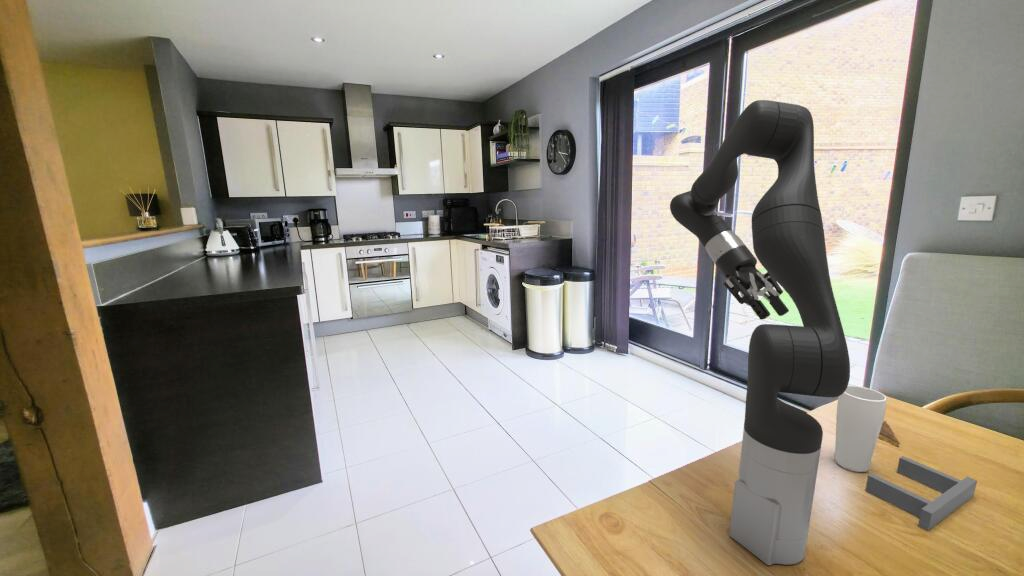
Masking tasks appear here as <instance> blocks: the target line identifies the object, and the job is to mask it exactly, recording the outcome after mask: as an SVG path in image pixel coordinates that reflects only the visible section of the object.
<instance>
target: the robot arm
mask: <svg viewBox="0 0 1024 576" xmlns="http://www.w3.org/2000/svg"><path fill="white" fill-rule="evenodd" d="M812 116H813V115H812V113H811V111H810V110H809V109H808V108H807V107H805V106H802V105H800V104H794V103H789V102H784V101H783V102H782V101H774V100H768V99H767V100H766V99H760V100H759V99H758V100H754V101H753V102H751V103H750V104H748V106H747V107H745V108H744V109H743V111H742V112H741V113H740V115H739V116H738V117H737V118H736V119H735V122H734V124H733V125H732V127H731V128H730V130H729V132H728V134H727V135H726V137H725V138H724V140H723V142H722V143H721V145H720V147H719V148H718V150H717V152H716V154H715V155H714V157H713V158H712V160H711V162H710V163H709V165H708V166H707V167H706V168H705V169H704V171H702V172H701V174H700V175H699V176H698V177H697V178H696V179H695V180H694V182H693V183H692V185H691V189H690V190H688V191H685V192H682V193H679V194H677V195H675V196H674V197H672V198H671V201H670V203H669V210H670V213H671V216H672V217H673V219H675V221H676V222H677V223H679V224H680V225H681V226H683V227H684V228H685V229H687V231H689V232H690V233H691V234H693V235H694V236H695V237H697V238H698V240H699V242H700V243H701V244H702V246H703V247H704V249H705V250H706V252H707V254H708V256H709V257H710V259H711V261H712V262H713V263H714V265H715V266H716V268H717V269H718V270H719V272H720V273H721V274H722V276H723V277H724V278H725V279H726V280H725V281H724V282H723V286H724V287H725V288H726V289H727V290H728V291H729V292H730V294H732V296H733V297H734V298H735V300H736V301H737V302H738V303H739V304H740V305H743V304H746V306H749V307H750V308H751V309H752V311H753V312H754V313H755V315H756V316H757V317H758V319H759V320H765V319H767V318H769V317H770V315H771V312H770V311H769V310H768V308H767V306H765V304H764V303H763V301H762V300H761V299H760V298H759V297H763V298H764V299H765V300H766V301H768V302H769V304H770V306H771V308H772V309H773V310H774V312H775V313H776V314H777V315H778V316H779V317H781V316H782V317H783V316H784V315H786V314H788V313H789V311H790V310H789V308H788V307H787V306H786V304H785V303H784V302H783V300H782V299H781V297H780V296H781V295H782V294H783V293H784V291H785V292H786V293H787V294H788V295H789V297H790V299H791V300H792V301H793V303H794V305H795V307H796V309H797V311H798V314H799V315H800V319H801V323H802V325H803V326H802V325H787V324H786V325H785V324H771V323H768V324H767V323H764V324H763V323H762V324H759V325H757V326H756V327H755V328H754V329H753V331H752V333H751V335H750V339H749V345H748V356H747V357H748V358H747V382H746V383H747V384H746V385H747V386H746V394H745V395H746V396H745V408H744V409H745V410H744V412H745V413H744V423H743V432H742V442H741V448H740V449H741V451H740V459H739V465H738V466H739V469H738V475H737V479H736V480H735V482H734V486H733V487H734V488H733V496H732V506H731V514H730V515H731V516H730V525H729V534H728V535H729V537H731V538H732V539H733V540H734V541H735V542H737V543H739V545H740V546H742V547H744V548H745V549H746V550H747V551H749V552H750V553H751V554H753V555H754V556H755V557H757V559H759V560H760V561H762V562H763V563H764V564H766V565H767V566H772V565H775V564H778V565H783V566H784V565H786V566H787V565H796V564H799V563H800V562H801V561H803V559H804V558H805V557H806V556H805V555H806V550H807V542H808V537H809V531H810V530H809V529H810V522H811V516H812V510H813V503H814V502H813V501H814V497H815V489H816V482H817V477H818V476H817V475H818V469H819V463H820V456H821V451H822V445H823V444H822V443H823V437H824V435H823V433H824V432H823V426H822V425H821V424H820V422H819V421H818V419H816V418H815V417H813V416H812V415H810V414H809V413H807V412H805V411H804V410H802V409H800V408H797V407H795V406H792V405H790V404H788V403H786V402H785V401H782V400H780V399H779V398H778V394H779V393H782V394H783V393H784V394H793V395H801V396H809V397H810V396H811V397H821V398H838V397H839V396H840V395H842V394H843V393H844V392H845V390H846V389H847V386H848V385H849V382H850V378H851V377H850V376H851V362H850V355H849V349H848V344H847V340H846V335H845V332H844V328H843V324H842V321H841V317H840V312H839V309H838V306H837V302H836V298H835V295H834V290H833V286H832V282H831V276H830V270H829V265H828V264H829V263H828V257H827V247H826V239H825V230H824V223H823V222H824V221H823V217H822V211H821V206H820V203H819V197H818V191H817V189H818V188H817V182H816V173H815V130H814V120H813V117H812ZM744 154H745V155H748V156H750V157H751V156H753V157H758V158H764V159H771V160H774V161H775V162H776V164H777V170H778V171H777V178H776V179H775V181H774V183H773V184H772V185H771V186H770V187H769V188H768V190H767V191H766V192H765V193H764V194H763V195H762V197H761V198H760V200H759V201H758V202H757V204H755V207H754V209H753V211H752V213H751V235H752V246H753V247H752V248H753V252H754V254H753V253H752V252H751V251H750V249H749V248H748V247H747V245H746V244H745V242H744V241H743V240H742V238H741V237H739V235H737V234H736V233H735V232H734V231H733V230H732V228H731V227H730V225H729V224H728V223H727V222H726V220H725V219H724V218H723V217H722V216H721V215H719V214H711V215H710V213H712V212H713V211H714V210H715V209H716V208H717V207H718V204H719V202H720V200H721V198H723V197H724V196H725V195H727V193H728V192H730V191H731V190H732V189H733V187H734V186H735V185H736V182H737V180H738V176H739V167H738V160H737V159H738V157H740V156H742V155H744ZM708 214H709V215H708ZM755 256H756V257H755ZM758 261H759V263H760V264H761V266H762V267H763V268H764V269H765V270H766V272H765V273H762V272H761V271H760V270H758V269H757V268H756V266H757V263H758ZM783 290H784V291H783Z"/></svg>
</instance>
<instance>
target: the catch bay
mask: <svg viewBox="0 0 1024 576" xmlns="http://www.w3.org/2000/svg"><path fill="white" fill-rule="evenodd" d="M896 473H897V474H899V475H902V476H905V477H907V478H909V479H910V480H914V481H916V482H917V483H921V484H922V485H924V486H927V487H929V488H932V489H934V490H935V491H938V492H940V493H941V494H939V496H937V497H936V498H935V499H933V500H930V499H927V498H925V497H923V496H921V495H919V494H917V493H915V492H913V491H910V490H907V489H906V488H903V487H901V486H900V485H897V484H896V483H893V482H891V481H888V480H887V479H885V478H883V477H880V476H879V475H875V474H874V473H870V474H868V475H867V481H866V485H865V490H864V491H865V492H867V493H869V494H871V495H873V496H875V497H878V498H879V499H881V500H883V501H885V502H887V503H889V504H891V505H893V506H894V507H897V508H899V509H901V510H902V511H905V512H907V513H909V514H911V515H913V516H915V517H917V518H919V519H918V523H917V526H918V527H919V528H922V529H924V530H926V531H930V530H931V529H932V528H934V527H936V525H938V524H940V522H942V521H943V520H945V519H946V518H948V517H949V516H950V514H953V513H954V512H955V511H956V510H957V509H959V508H960V507H962V506H963V505H964V504H965V503H967V502H968V501H969V500H970V499H972V498H973V497H974V496H975V492H976V487H977V483H978V480H976V479H974V478H972V477H970V476H966V477H964V478H963V479H959V478H956V477H954V476H952V475H950V474H947V473H944V472H942V471H940V470H937V469H935V468H932V467H930V466H928V465H925V464H923V463H920V462H919V461H916V460H913V459H911V458H908V457H907V456H904V455H902V456H900V457H899V459H898V464H897V468H896Z"/></svg>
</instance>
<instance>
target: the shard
mask: <svg viewBox="0 0 1024 576" xmlns="http://www.w3.org/2000/svg"><path fill="white" fill-rule="evenodd" d="M878 439H879V440H881V441H883V442H886V443H888V444H890V445H893V446H895V447H898V446H899V445H901V444H900V442H899V440H898V438H897V437H896V436H895V433H894V431H893V430H892V427H891V426H890V425H889V424H888V423H887V420H883V424H882V427H881V430H880V433H879V436H878Z"/></svg>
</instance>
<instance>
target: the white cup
mask: <svg viewBox="0 0 1024 576" xmlns="http://www.w3.org/2000/svg"><path fill="white" fill-rule="evenodd" d="M887 399H888V397H887V396H886V395H885V394H883V393H882V392H880V391H878V390H875V389H872V388H869V387H864V386H859V385H849V384H848V386H847V389H846V390H845V392H844V393H843V394H842V395H840V396H838V397H837V405H836V420H835V421H836V422H835V426H836V427H835V446H834V454H833V459H834V461H835V462H836V464H838V465H839V466H840V467H842V468H844V469H846V470H848V471H852V472H856V473H866V472H869V470H870V469H871V468H870V467H871V464H872V460H873V459H872V458H873V456H874V452H875V449H876V445H877V442H878V439H879V438H878V436H879V433H880V430H881V427H882V424H883V421H885V420H884V419H885V415H886V409H887V401H888V400H887Z"/></svg>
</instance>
